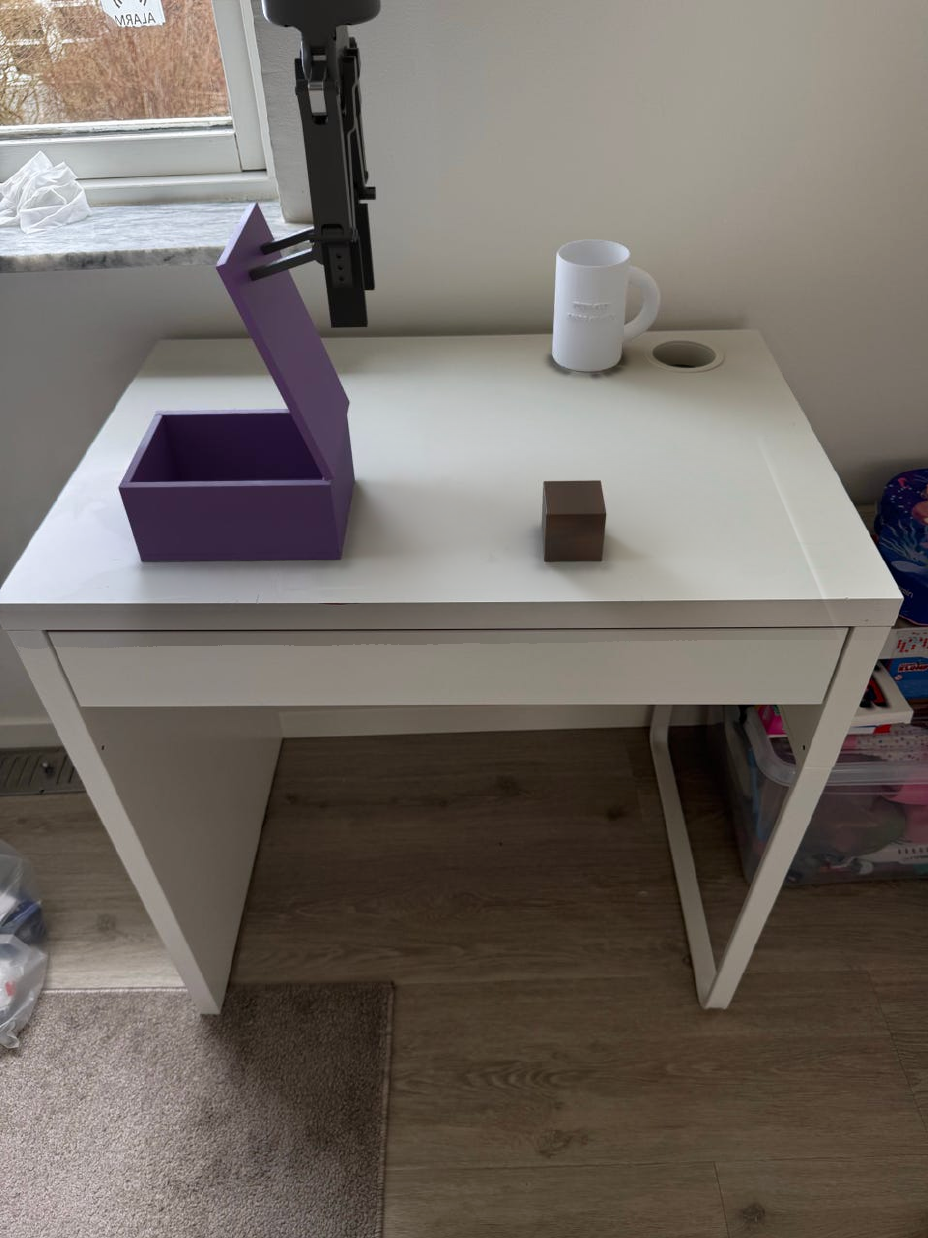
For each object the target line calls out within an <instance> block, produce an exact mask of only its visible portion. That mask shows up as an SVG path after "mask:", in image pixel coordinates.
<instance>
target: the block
mask: <svg viewBox="0 0 928 1238" xmlns="http://www.w3.org/2000/svg"><path fill="white" fill-rule="evenodd" d="M604 496H605V495H604V491H603V485H602V480H600V479H599V480H598V479H595V480H592V479H591V480H543V482H542V507H541V537H542V538H541V539H542V549H543V550H542V551H543V561H544V562H601V561H603V554H604V545H605V535H606V524H607V508H606V501H605V497H604Z"/></svg>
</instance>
